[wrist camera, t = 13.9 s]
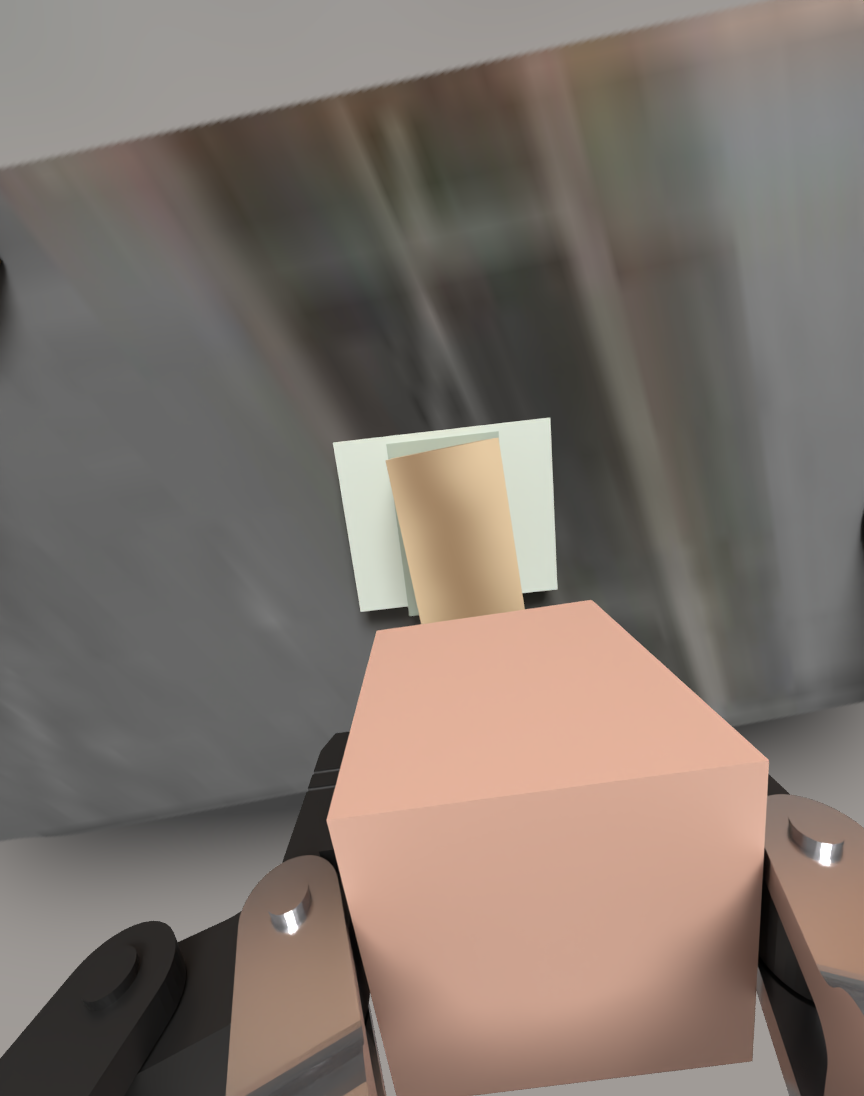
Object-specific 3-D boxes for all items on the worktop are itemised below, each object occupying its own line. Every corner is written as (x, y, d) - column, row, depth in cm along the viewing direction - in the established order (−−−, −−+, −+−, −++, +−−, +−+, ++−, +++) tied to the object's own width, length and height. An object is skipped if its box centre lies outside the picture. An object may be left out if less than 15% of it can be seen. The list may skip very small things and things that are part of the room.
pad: (539, 420, 24) (550, 417, 22) (547, 587, 27) (558, 599, 25) (340, 443, 24) (332, 442, 22) (366, 608, 27) (362, 621, 25)
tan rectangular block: (481, 440, 23) (498, 437, 18) (506, 591, 25) (527, 626, 20) (392, 458, 23) (385, 460, 18) (425, 607, 25) (426, 645, 20)
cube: (591, 599, 9) (768, 760, 5) (602, 780, 11) (752, 1061, 6) (376, 630, 10) (326, 819, 5) (410, 806, 11) (398, 1104, 6)
